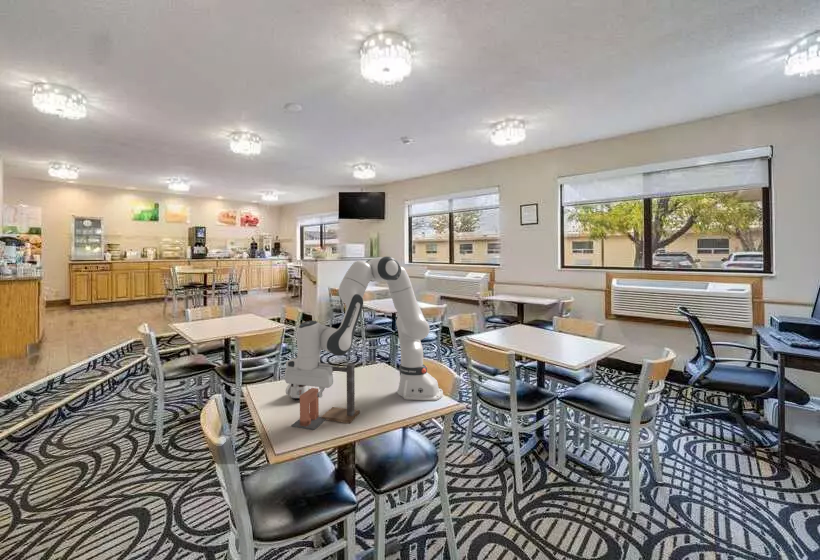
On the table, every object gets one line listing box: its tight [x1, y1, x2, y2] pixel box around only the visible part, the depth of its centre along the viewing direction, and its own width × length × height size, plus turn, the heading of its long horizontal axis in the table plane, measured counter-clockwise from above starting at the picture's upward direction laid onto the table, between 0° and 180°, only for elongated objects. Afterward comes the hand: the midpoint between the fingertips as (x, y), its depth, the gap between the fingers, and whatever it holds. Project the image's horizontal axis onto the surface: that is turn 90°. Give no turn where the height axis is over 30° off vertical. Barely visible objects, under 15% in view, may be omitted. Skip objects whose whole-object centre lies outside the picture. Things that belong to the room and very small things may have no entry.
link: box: [299, 387, 320, 427], centre depth 145 cm, size 3×9×12 cm, turn 164°
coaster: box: [291, 415, 326, 431], centre depth 145 cm, size 10×10×1 cm
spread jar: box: [285, 384, 310, 402], centre depth 171 cm, size 12×11×12 cm
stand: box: [320, 363, 361, 424], centre depth 151 cm, size 17×10×22 cm, turn 74°
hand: (309, 395), depth 145 cm, fingers open, 8 cm apart
